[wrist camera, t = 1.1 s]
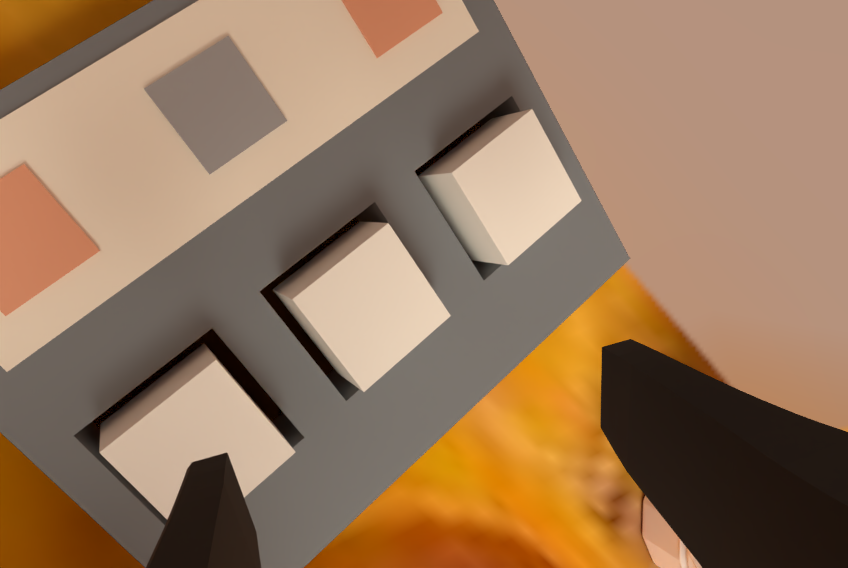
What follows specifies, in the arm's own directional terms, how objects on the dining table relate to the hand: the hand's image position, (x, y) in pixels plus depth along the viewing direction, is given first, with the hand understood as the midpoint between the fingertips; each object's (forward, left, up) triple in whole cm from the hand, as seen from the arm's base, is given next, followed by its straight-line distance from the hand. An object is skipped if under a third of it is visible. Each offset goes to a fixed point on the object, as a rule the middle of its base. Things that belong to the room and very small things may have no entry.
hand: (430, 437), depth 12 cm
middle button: (+2, +1, -8) cm, 8 cm away
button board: (+2, +3, -9) cm, 10 cm away
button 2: (-4, +1, -8) cm, 9 cm away
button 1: (+7, +1, -8) cm, 11 cm away
